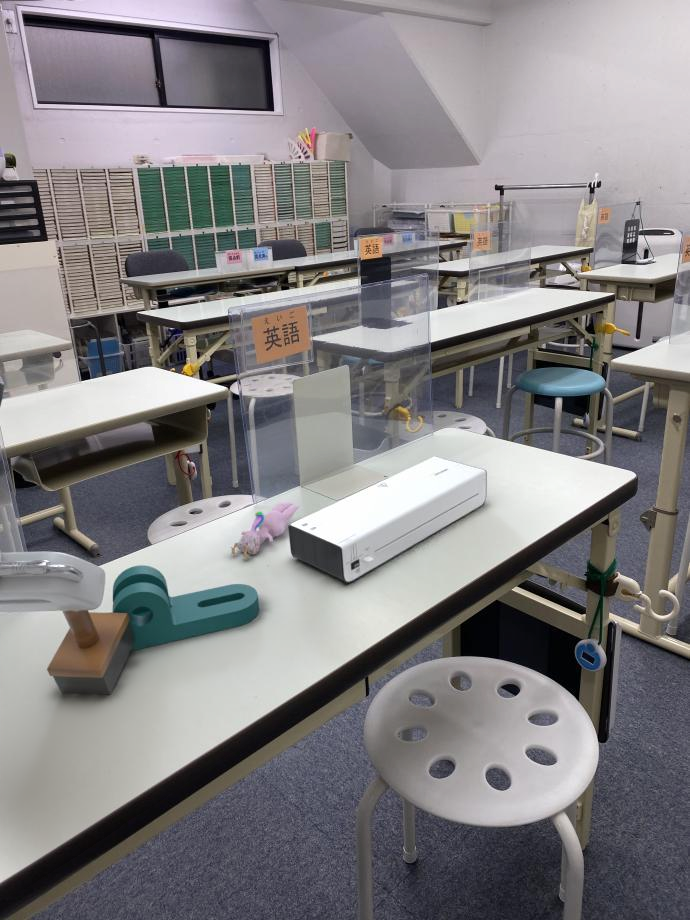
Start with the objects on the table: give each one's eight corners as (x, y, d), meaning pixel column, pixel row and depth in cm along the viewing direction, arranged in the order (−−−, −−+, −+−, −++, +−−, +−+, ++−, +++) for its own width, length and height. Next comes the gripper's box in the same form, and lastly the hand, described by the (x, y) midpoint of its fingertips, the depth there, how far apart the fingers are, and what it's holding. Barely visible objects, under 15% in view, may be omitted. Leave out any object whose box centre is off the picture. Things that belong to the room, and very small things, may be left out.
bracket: (119, 653, 84) (107, 598, 81) (119, 623, 90) (108, 571, 87) (263, 620, 89) (256, 567, 86) (254, 593, 95) (247, 543, 92)
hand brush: (110, 696, 77) (69, 606, 69) (59, 694, 78) (13, 605, 70) (137, 637, 84) (102, 550, 76) (89, 636, 85) (50, 549, 76)
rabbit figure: (257, 570, 103) (312, 516, 113) (248, 538, 100) (305, 486, 111) (226, 561, 106) (282, 509, 117) (216, 530, 103) (275, 479, 114)
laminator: (434, 487, 124) (434, 455, 121) (492, 505, 115) (492, 471, 113) (291, 561, 102) (287, 524, 100) (349, 590, 94) (346, 550, 91)
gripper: (70, 525, 54) (135, 569, 67) (-172, 533, 56) (-64, 574, 68) (57, 605, 51) (127, 635, 64) (-196, 611, 53) (-79, 639, 66)
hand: (27, 604), depth 66 cm, fingers open, 8 cm apart
